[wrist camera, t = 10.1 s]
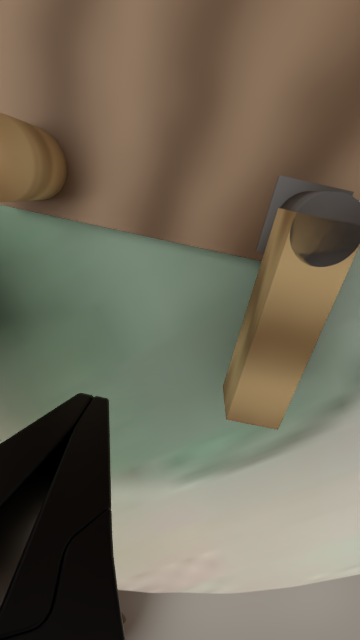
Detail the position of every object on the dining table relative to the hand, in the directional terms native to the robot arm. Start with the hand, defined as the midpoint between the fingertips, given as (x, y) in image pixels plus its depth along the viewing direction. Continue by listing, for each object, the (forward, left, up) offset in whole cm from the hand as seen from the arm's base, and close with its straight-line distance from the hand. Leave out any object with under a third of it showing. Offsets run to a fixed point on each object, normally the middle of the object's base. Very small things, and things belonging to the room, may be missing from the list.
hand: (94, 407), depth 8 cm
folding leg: (+8, +1, -11) cm, 13 cm away
